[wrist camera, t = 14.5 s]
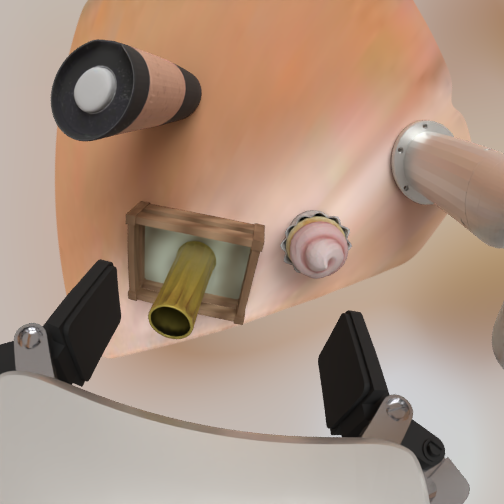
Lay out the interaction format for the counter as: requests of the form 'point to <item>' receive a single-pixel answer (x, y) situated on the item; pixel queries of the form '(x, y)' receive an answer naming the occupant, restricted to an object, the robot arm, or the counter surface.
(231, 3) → the counter surface
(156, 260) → the tray
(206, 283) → the vase
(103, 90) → the travel mug
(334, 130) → the counter surface
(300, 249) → the cupcake
